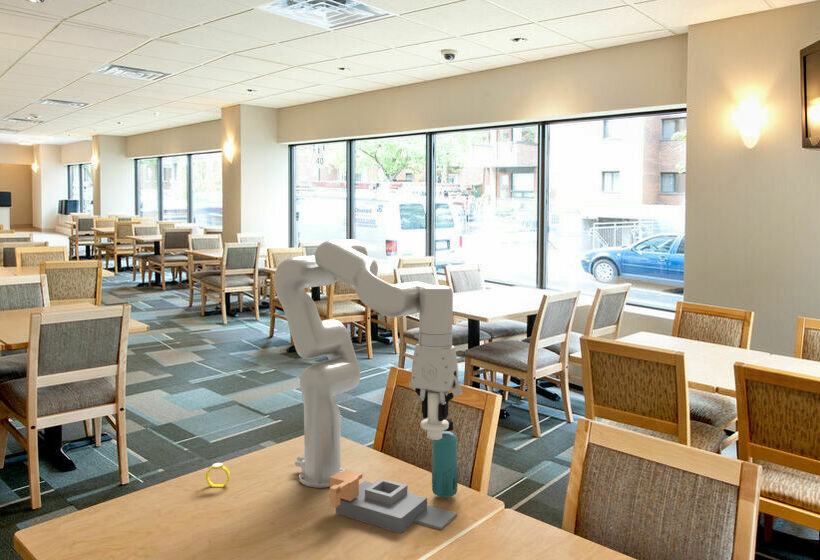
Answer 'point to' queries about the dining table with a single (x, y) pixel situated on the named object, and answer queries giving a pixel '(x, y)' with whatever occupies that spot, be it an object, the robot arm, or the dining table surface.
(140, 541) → the dining table surface
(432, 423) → the plug
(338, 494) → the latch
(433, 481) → the beverage bottle
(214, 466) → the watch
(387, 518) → the grey base plate
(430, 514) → the mat
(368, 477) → the dining table surface
